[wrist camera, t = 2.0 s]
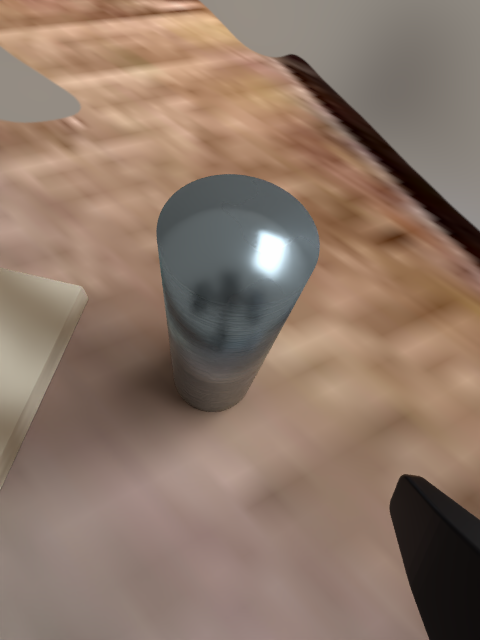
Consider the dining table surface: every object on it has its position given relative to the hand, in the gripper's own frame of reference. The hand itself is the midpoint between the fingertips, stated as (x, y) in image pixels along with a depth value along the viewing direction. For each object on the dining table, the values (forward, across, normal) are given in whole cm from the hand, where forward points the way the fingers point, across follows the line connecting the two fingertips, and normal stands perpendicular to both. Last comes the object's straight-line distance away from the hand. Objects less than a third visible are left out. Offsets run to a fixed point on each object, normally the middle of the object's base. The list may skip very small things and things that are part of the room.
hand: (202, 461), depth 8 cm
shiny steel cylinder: (+13, 0, +4) cm, 14 cm away
